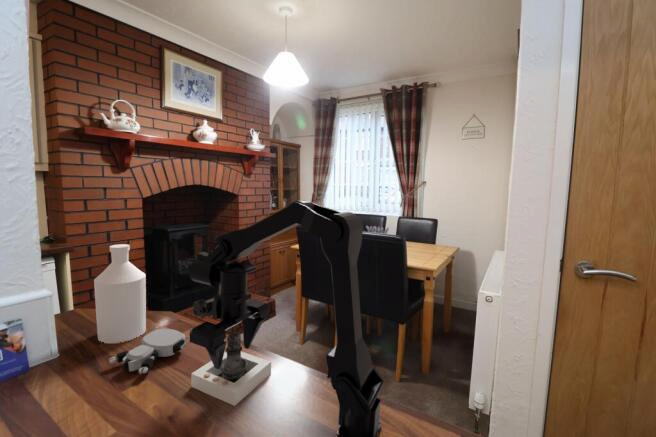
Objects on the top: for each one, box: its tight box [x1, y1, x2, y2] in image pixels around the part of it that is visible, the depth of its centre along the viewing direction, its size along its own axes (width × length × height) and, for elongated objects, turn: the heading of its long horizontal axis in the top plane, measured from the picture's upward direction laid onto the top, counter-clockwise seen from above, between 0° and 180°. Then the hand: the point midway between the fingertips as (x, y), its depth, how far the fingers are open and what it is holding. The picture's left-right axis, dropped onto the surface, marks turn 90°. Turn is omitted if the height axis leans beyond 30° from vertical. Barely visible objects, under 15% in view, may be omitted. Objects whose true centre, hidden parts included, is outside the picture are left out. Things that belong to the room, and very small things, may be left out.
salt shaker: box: [220, 328, 247, 383], centre depth 70 cm, size 6×6×12 cm
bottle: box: [93, 243, 147, 344], centre depth 87 cm, size 12×12×25 cm
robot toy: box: [108, 326, 190, 374], centre depth 77 cm, size 12×4×15 cm
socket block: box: [190, 351, 272, 407], centre depth 70 cm, size 12×12×3 cm
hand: (232, 357), depth 70 cm, fingers open, 9 cm apart
